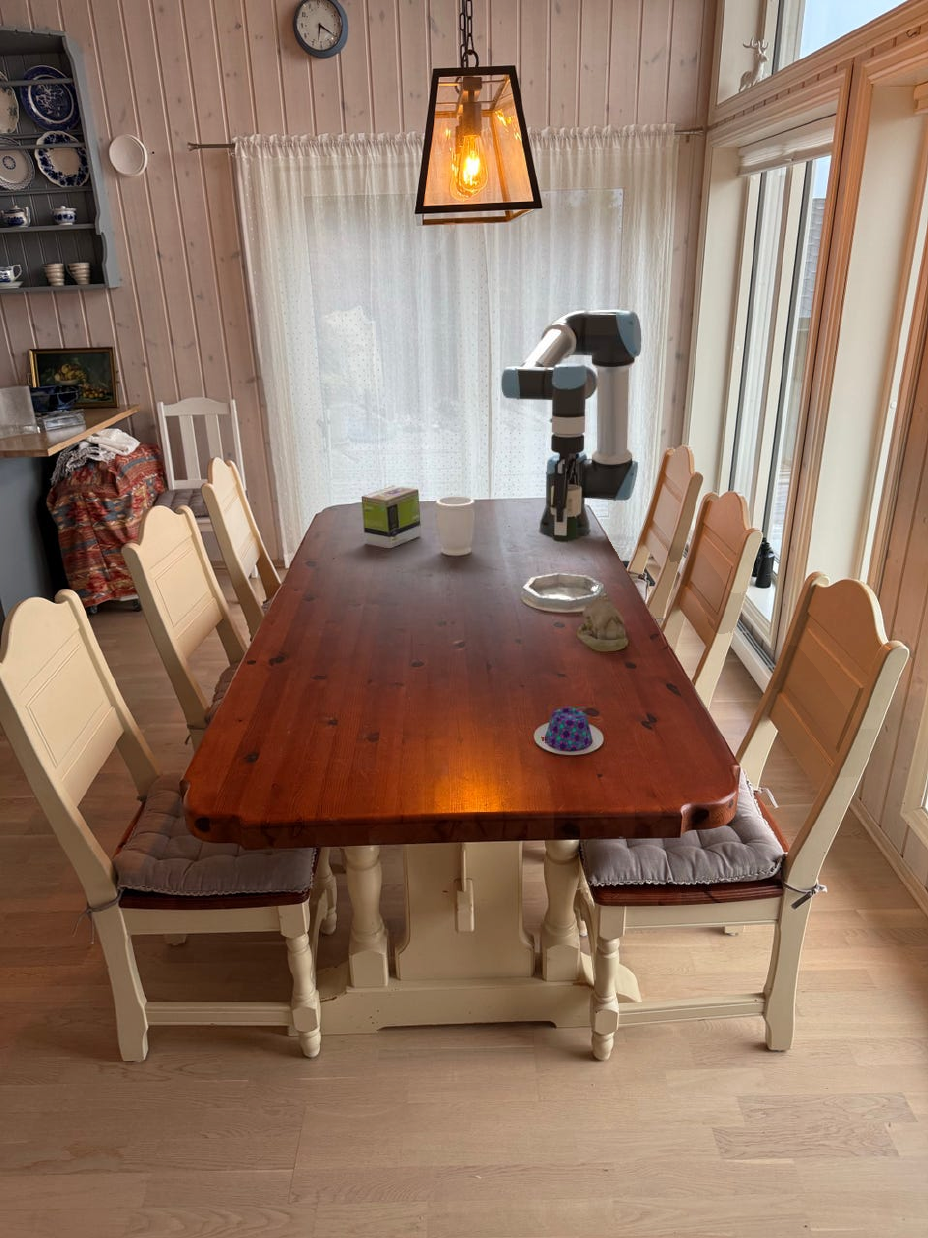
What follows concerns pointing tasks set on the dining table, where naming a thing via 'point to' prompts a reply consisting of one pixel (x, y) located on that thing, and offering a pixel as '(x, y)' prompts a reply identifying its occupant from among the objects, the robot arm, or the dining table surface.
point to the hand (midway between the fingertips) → (565, 529)
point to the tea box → (391, 516)
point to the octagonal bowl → (561, 592)
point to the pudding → (569, 733)
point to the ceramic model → (602, 626)
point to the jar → (455, 524)
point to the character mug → (569, 513)
